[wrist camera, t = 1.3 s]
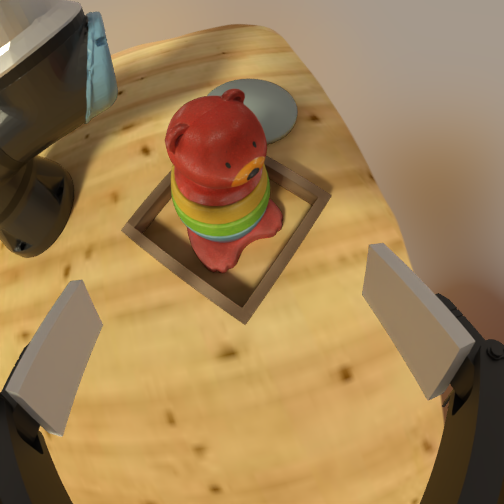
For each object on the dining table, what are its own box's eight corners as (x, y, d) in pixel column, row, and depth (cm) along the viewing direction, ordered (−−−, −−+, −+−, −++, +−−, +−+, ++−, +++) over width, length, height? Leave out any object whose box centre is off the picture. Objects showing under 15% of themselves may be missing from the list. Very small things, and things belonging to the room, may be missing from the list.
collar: (128, 237, 31) (120, 230, 29) (214, 138, 36) (213, 127, 33) (245, 325, 29) (245, 324, 27) (326, 204, 33) (331, 195, 31)
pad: (182, 121, 37) (181, 116, 36) (239, 73, 40) (239, 69, 39) (262, 163, 35) (263, 158, 34) (312, 106, 38) (313, 102, 37)
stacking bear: (216, 281, 30) (180, 219, 13) (166, 215, 32) (107, 117, 15) (289, 224, 32) (330, 121, 15) (237, 166, 34) (233, 51, 17)
